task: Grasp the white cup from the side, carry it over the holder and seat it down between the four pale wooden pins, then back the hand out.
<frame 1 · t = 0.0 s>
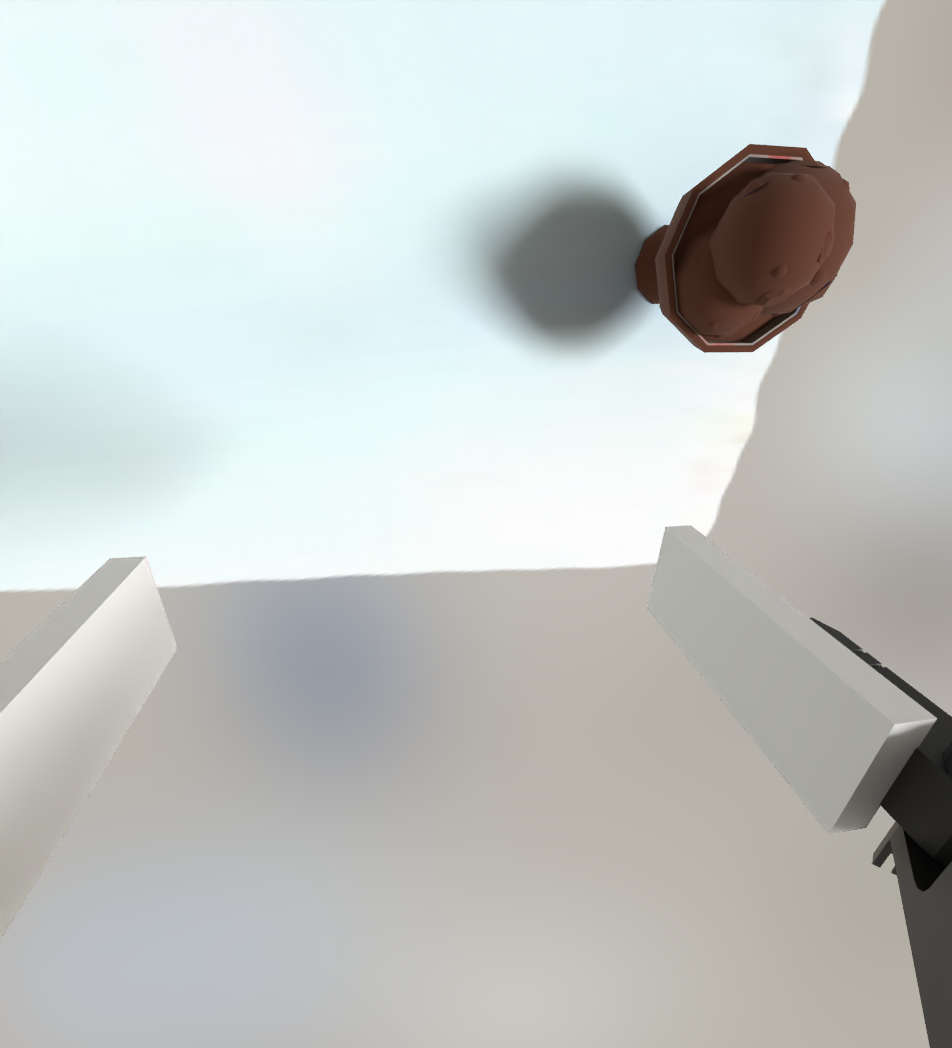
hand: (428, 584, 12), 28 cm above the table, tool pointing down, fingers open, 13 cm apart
ice cream bowl: (667, 266, 36), on the table
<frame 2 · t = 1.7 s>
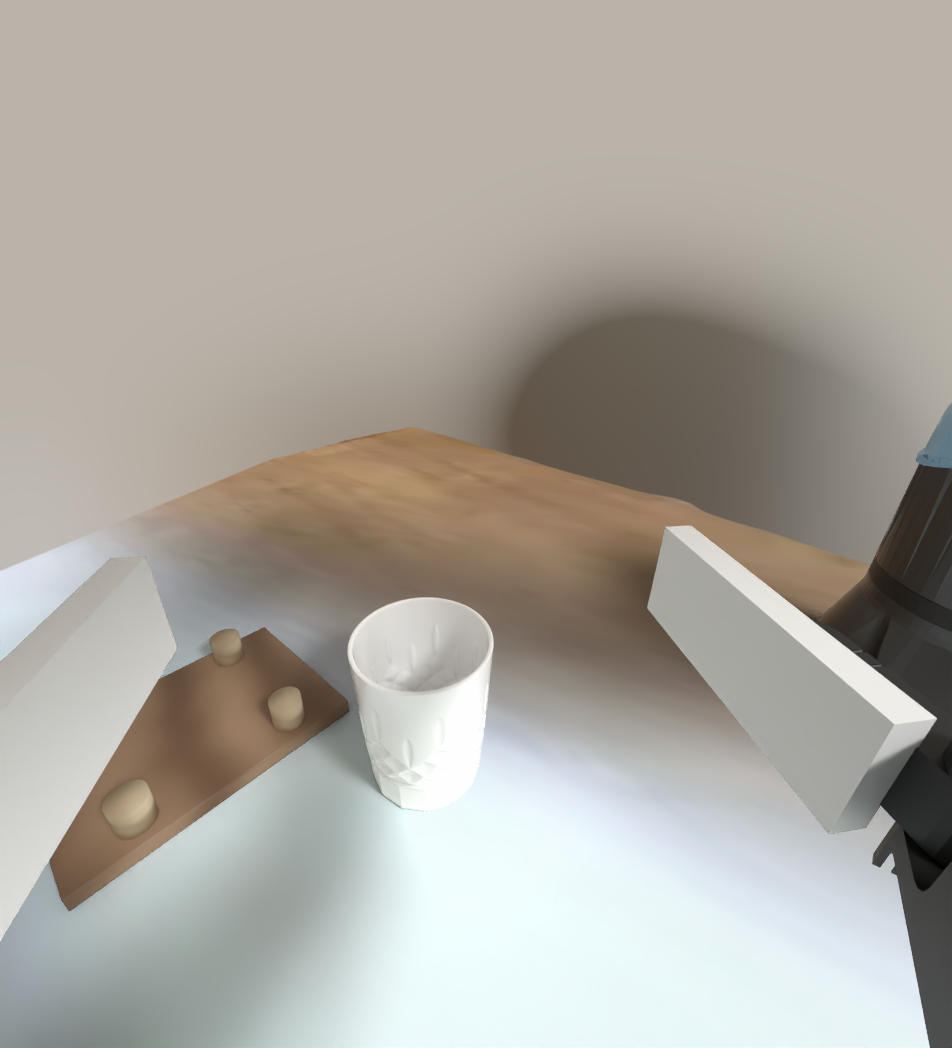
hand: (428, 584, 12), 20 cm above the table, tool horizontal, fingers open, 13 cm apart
white cup: (427, 762, 30), on the table
holder: (195, 734, 31), on the table
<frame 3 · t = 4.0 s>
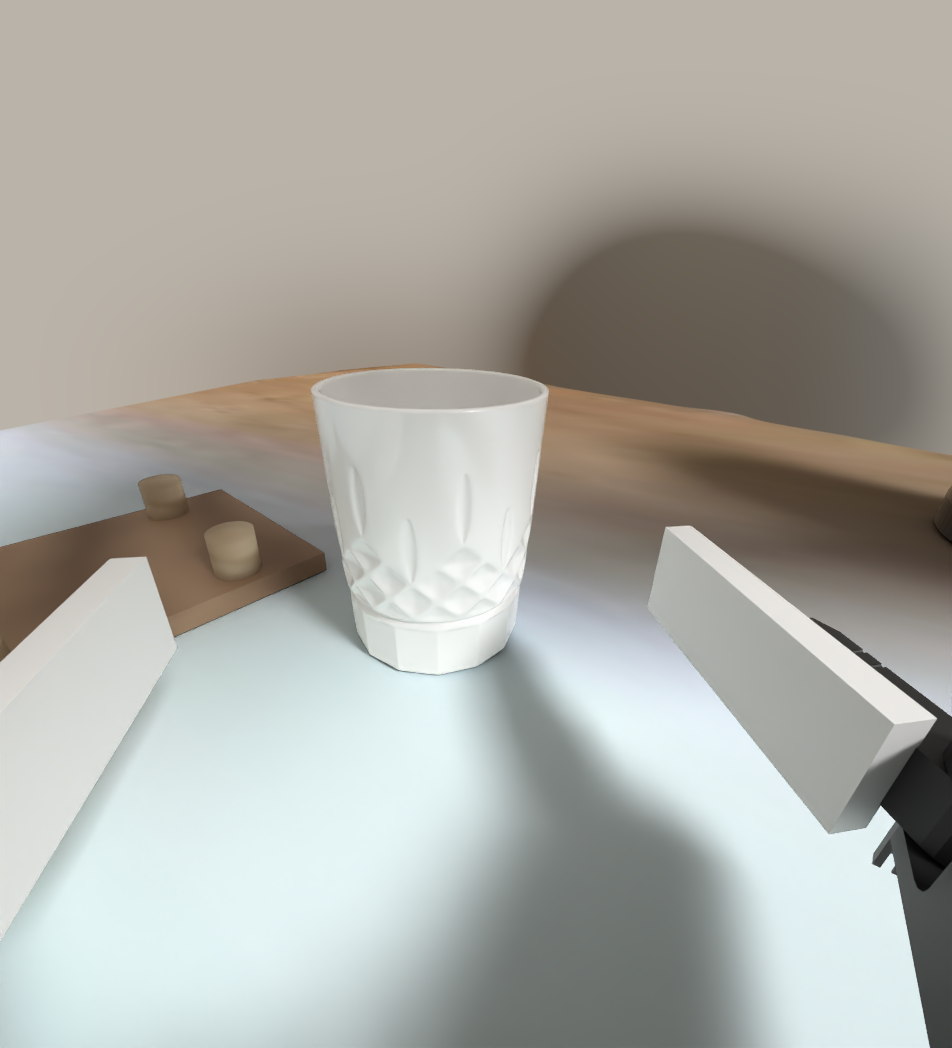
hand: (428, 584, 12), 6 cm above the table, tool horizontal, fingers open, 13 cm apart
white cup: (437, 624, 20), on the table
holder: (104, 589, 22), on the table
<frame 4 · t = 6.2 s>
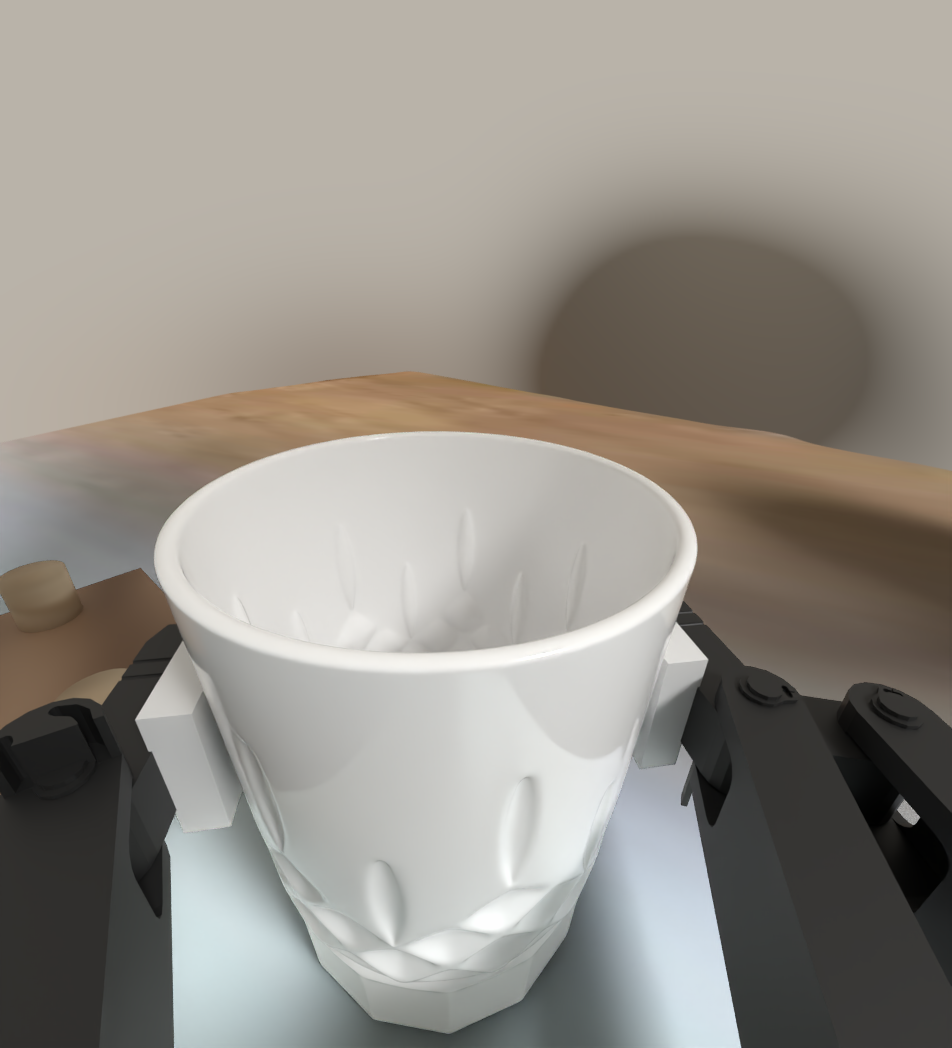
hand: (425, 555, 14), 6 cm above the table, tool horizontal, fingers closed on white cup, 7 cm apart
white cup: (443, 855, 12), on the table, touching gripper
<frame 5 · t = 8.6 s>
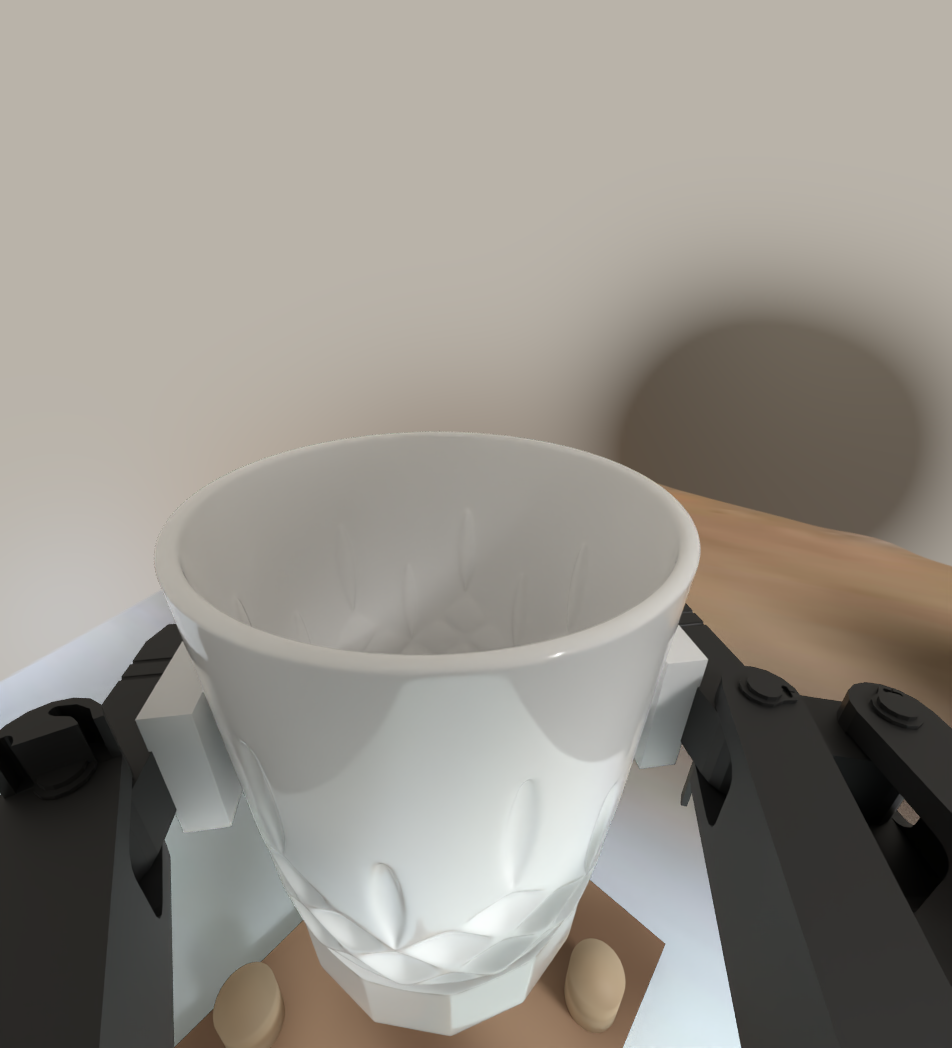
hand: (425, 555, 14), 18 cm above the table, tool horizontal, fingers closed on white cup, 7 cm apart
white cup: (444, 856, 12), point 12 cm above the table, touching gripper
holder: (427, 1020, 18), on the table
when the fingers open (8 cm above the table, at t = 11.0 s): white cup drops 1 cm, resting on holder.
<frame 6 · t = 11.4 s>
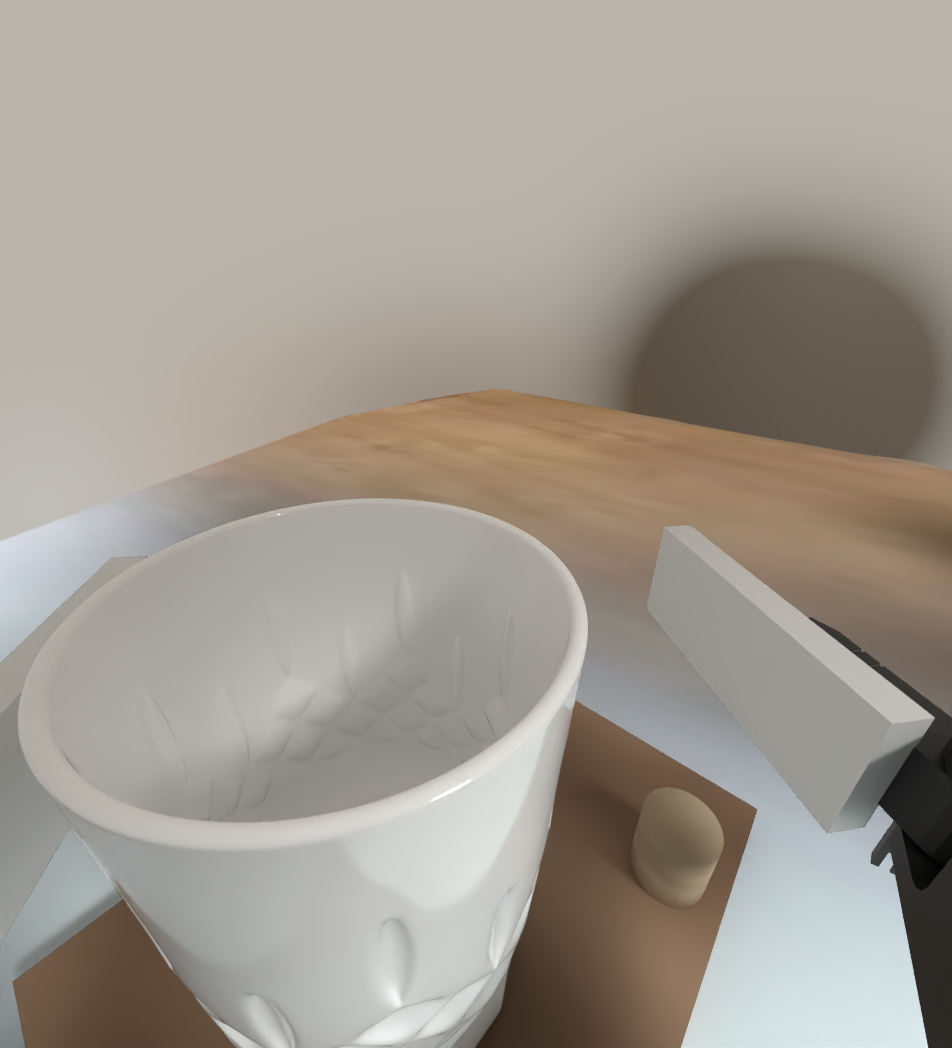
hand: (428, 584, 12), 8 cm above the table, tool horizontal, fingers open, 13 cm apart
white cup: (385, 921, 12), point 1 cm above the table, touching holder
holder: (443, 901, 13), on the table
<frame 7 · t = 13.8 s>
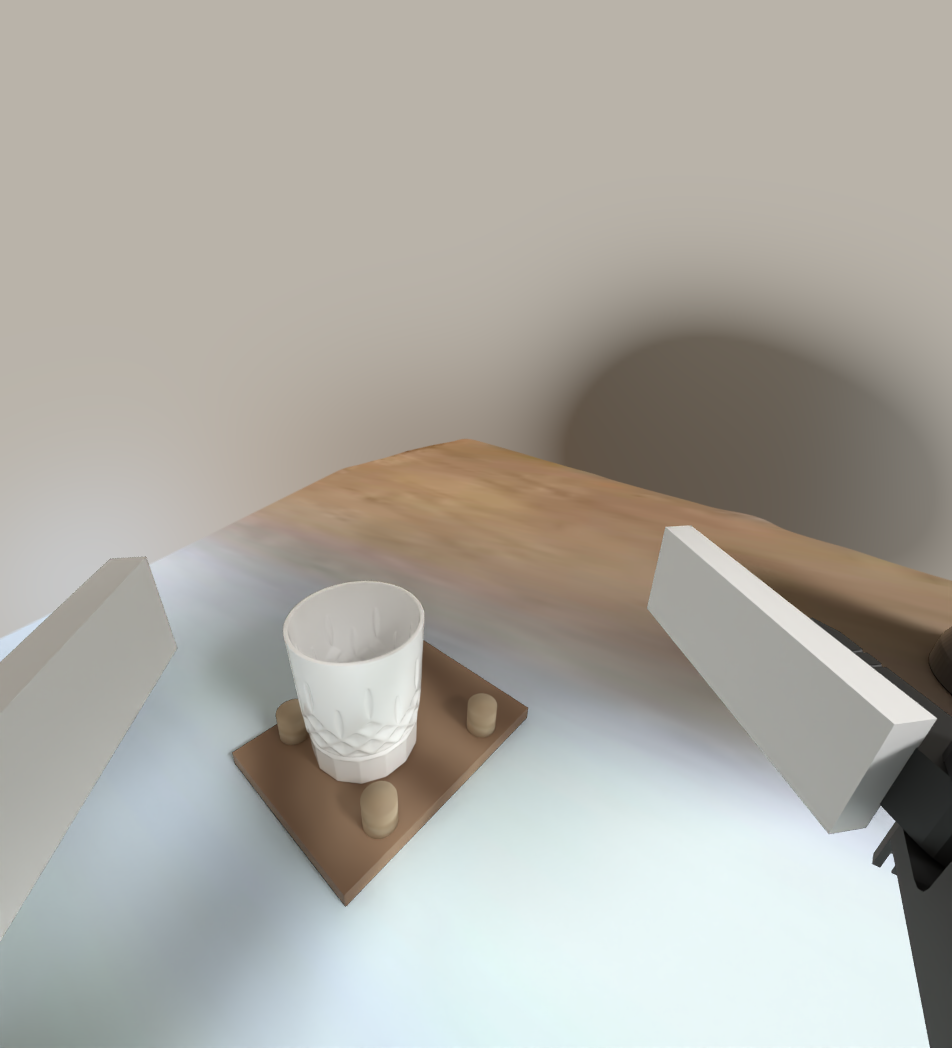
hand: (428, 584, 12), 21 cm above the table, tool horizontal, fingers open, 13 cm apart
white cup: (366, 740, 31), point 1 cm above the table, touching holder
holder: (390, 738, 32), on the table
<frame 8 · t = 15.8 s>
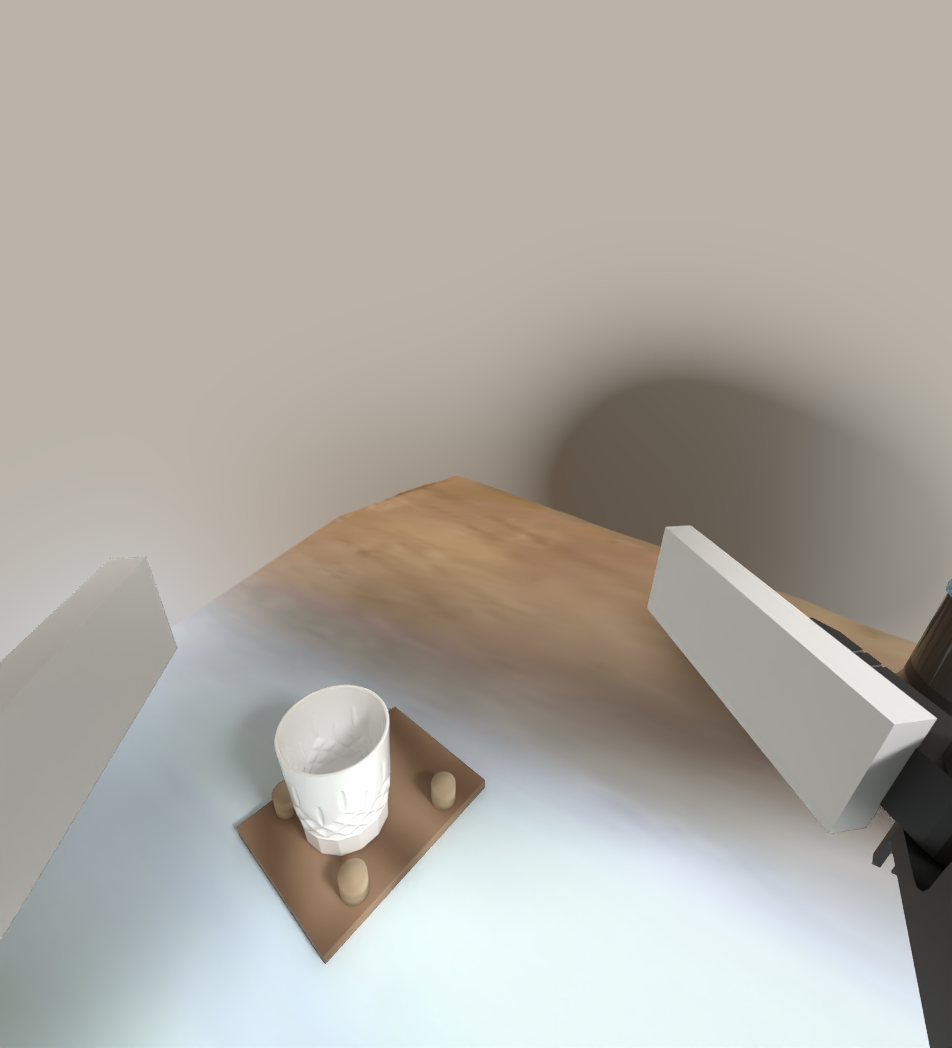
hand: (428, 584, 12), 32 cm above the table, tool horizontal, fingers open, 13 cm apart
white cup: (347, 813, 38), point 1 cm above the table, touching holder
holder: (368, 810, 39), on the table
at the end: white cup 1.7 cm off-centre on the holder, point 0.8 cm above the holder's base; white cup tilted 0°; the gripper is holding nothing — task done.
